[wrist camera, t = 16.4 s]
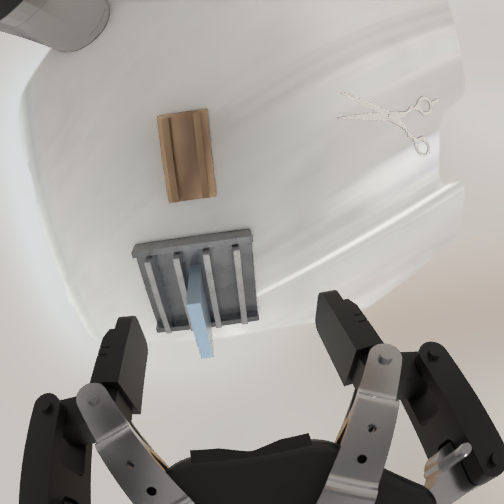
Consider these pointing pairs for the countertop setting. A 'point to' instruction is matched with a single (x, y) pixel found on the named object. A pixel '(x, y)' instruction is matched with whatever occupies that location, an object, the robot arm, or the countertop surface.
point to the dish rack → (214, 271)
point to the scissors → (393, 117)
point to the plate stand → (187, 155)
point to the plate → (199, 311)
